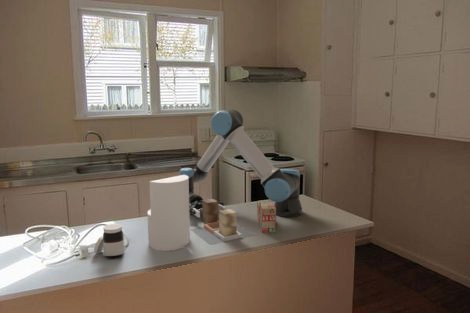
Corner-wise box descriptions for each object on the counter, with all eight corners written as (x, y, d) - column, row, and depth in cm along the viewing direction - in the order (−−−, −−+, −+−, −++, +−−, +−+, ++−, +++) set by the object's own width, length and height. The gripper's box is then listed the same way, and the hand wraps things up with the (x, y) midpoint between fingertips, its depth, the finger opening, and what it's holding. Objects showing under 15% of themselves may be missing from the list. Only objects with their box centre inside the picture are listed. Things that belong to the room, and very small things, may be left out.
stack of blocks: (256, 218, 199) (257, 195, 197) (269, 218, 199) (269, 194, 197) (261, 234, 178) (261, 207, 176) (275, 234, 178) (276, 207, 176)
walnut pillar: (212, 220, 197) (212, 198, 195) (217, 223, 192) (217, 201, 190) (202, 222, 194) (202, 200, 192) (207, 225, 190) (207, 203, 188)
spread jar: (124, 259, 152) (123, 230, 150) (93, 262, 149) (91, 233, 147) (124, 247, 164) (122, 220, 162) (94, 250, 161) (93, 222, 159)
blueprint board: (232, 223, 192) (232, 218, 192) (255, 236, 175) (255, 231, 175) (190, 231, 182) (190, 226, 181) (210, 246, 164) (210, 241, 164)
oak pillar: (230, 232, 177) (230, 209, 176) (236, 236, 173) (236, 212, 171) (219, 235, 175) (219, 210, 173) (225, 239, 170) (225, 214, 168)
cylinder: (198, 242, 169) (197, 177, 164) (164, 254, 157) (162, 185, 152) (173, 232, 181) (171, 171, 176) (140, 242, 169) (137, 177, 164)
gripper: (215, 204, 215) (235, 215, 197) (171, 212, 203) (188, 224, 185) (215, 191, 214) (235, 201, 195) (171, 197, 202) (187, 208, 183)
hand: (212, 212), depth 190 cm, fingers open, 13 cm apart
